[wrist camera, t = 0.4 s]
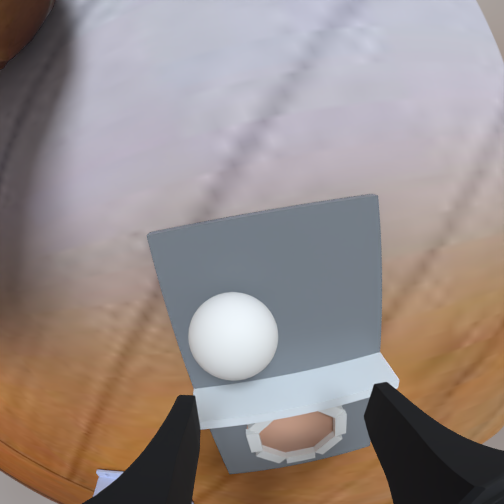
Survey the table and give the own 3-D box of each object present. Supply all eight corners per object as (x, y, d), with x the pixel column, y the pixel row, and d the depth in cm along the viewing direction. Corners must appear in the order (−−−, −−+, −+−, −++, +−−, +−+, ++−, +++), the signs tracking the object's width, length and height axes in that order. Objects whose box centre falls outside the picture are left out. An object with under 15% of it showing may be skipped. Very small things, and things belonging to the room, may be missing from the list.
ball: (203, 353, 20) (197, 403, 16) (184, 286, 19) (170, 328, 14) (277, 340, 20) (289, 390, 16) (266, 271, 19) (277, 310, 14)
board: (229, 468, 26) (230, 502, 22) (149, 232, 18) (129, 253, 14) (367, 440, 26) (380, 471, 22) (372, 193, 19) (406, 204, 15)
